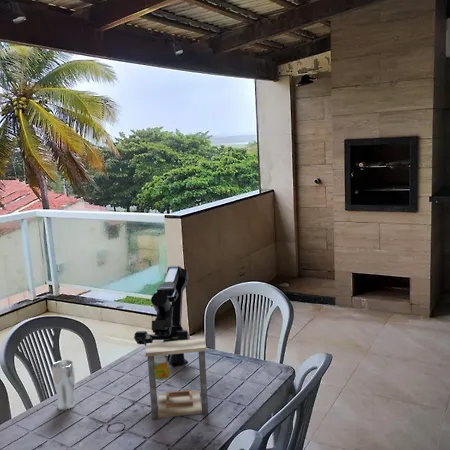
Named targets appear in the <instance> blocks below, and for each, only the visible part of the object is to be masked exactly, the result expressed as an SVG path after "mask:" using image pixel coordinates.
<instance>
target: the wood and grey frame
mask: <svg viewBox="0 0 450 450" xmlns="http://www.w3.org/2000/svg"><path fill="white" fill-rule="evenodd" d="M206 352H207V345H206V340H205V338H204V337H203V338H194V339H193V338H192V339H190V340H179V341H168V342H164V341H159V342H153V343H146V346H145V352H144V353H145V358H146V357H147V368H148V369H147V370H148V380H149V383H148V384H149V394H150V395H149V396H150V408H151V409H150V410H151V419H152V420H153V421H156V420H158V419H161V418H169V417H178V416H187V415H188V416H189V415H195V414H196V415H197V414H198V415H199V414H202V415H208V414H209V404H208V403H209V402H208V385H207V384H208V383H207V382H208V381H207V368H206V367H207V365H206ZM181 353H184V354H188V353H189V354H190V353H198V363H199V364H198V365H199V367H198V368H199V382H200V383H199V385H200V389H195V390H194V389H193V390H192V389H185V390H174V391H167V392H164V393H158V395H157V380H156V378H155V364H154V357H155V356H160V355H167V356H168V355H170V354H181Z"/></svg>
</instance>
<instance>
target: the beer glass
mask: <svg viewBox="0 0 450 450" xmlns="http://www.w3.org/2000/svg"><path fill="white" fill-rule="evenodd" d="M75 377H76V376H75V368H74V364H73V361H72V360H69V359H65V360H64V359H63V360H58V361H57V362H54V363H53V364H52V380H53V386H54V390H55V392H56V396H57V406H56V407H57V409H58V410H60V411H68V410H70V408H71V409H73V408H75V407H76V406H77V401H76V399H75V392H74V391H75V382H76V381H75V380H76V379H75ZM67 409H68V410H67Z"/></svg>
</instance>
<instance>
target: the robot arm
mask: <svg viewBox="0 0 450 450" xmlns="http://www.w3.org/2000/svg"><path fill="white" fill-rule="evenodd" d="M189 277H190V276H189V272H188V270H187V269H186V268H183V267H181V266H179V265H170V266H168V267H167V270H166V276H165V279H164V281H163V283H161V284H159V285H158V287H157V289H156V290H155V292H154V294H153V295H152V296H151V298H150V300H151V301H150V302H151V304H152V306H153V309H154V310H155V312H156V316H155V320H151V331H152V333H153V334H152V333H151V334H148V331H146V330H145V331H144V330H141V331H140V330H139V331H136V332H135V333H134V337H133V338H134V340H135V342H136V344H137V345H144V346H145V347H146V343H154V341H163V342H168V341H179V340H190V338H191V337H190V334H189V331H188V330H186V329H185V330H184V328H183V326H182V315H183V314H182V313H183V311H182V310H183V293H184V291H185V289H186V288H187V286H188V281H189ZM167 356H168V362H169V365H171V366H172V367H174V368H175V367H178V366H181V365H185V364H187V363H189V362H188V360H187V359H185V353H181V354H170V355H167Z"/></svg>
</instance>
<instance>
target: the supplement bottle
mask: <svg viewBox="0 0 450 450" xmlns="http://www.w3.org/2000/svg"><path fill="white" fill-rule="evenodd" d="M154 364H155V378H156V382H157V381H158V382H162V381H166V380H169V378H170V377H171V375H170V374H171V373H170V372H171V371H170V363H169V362H168V355H160V356H154Z"/></svg>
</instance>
